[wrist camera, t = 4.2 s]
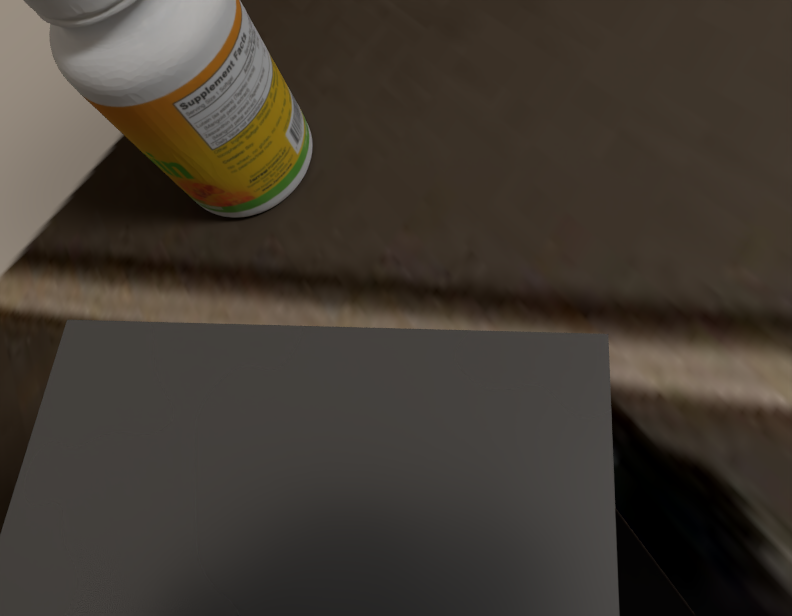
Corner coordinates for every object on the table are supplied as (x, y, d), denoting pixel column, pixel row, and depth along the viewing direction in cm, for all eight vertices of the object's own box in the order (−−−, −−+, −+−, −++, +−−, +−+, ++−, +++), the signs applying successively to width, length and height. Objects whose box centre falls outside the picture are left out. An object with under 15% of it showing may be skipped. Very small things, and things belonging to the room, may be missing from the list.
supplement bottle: (166, 176, 22) (-77, -51, 13) (258, 86, 22) (87, -189, 14) (244, 247, 20) (20, 36, 11) (343, 147, 20) (208, -131, 11)
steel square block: (537, 640, 14) (650, 1374, 2) (372, 614, 15) (-151, 1021, 3) (538, 463, 15) (608, 334, 4) (388, 450, 16) (67, 320, 5)
